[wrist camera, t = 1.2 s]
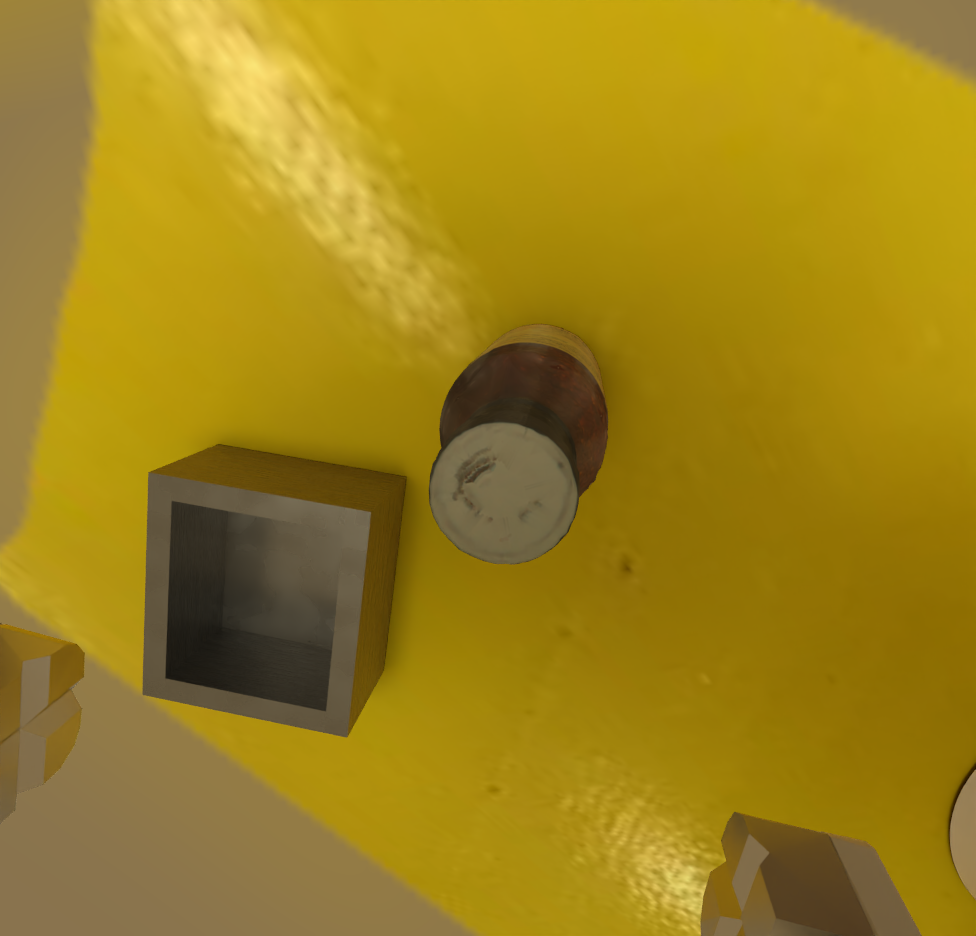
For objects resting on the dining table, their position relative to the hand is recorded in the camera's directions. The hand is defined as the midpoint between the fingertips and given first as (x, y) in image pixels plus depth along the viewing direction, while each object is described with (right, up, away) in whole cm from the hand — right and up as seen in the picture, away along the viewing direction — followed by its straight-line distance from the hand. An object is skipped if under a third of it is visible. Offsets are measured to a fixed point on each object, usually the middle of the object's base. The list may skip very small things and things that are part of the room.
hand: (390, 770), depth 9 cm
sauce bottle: (+4, +8, +30) cm, 31 cm away
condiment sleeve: (-9, -2, +33) cm, 35 cm away
